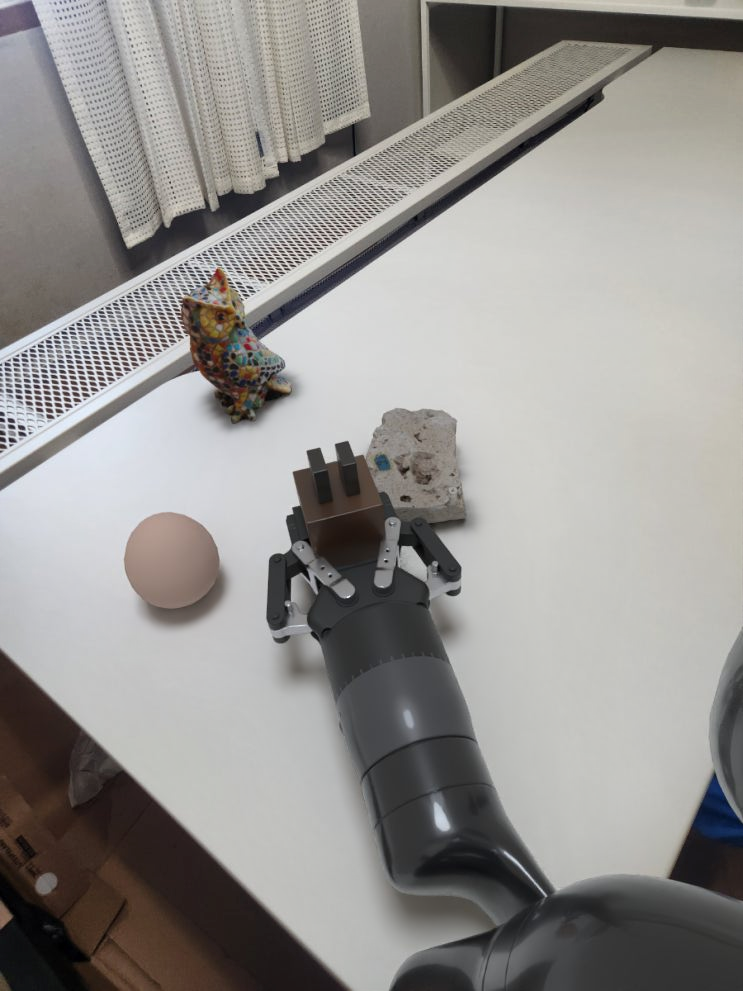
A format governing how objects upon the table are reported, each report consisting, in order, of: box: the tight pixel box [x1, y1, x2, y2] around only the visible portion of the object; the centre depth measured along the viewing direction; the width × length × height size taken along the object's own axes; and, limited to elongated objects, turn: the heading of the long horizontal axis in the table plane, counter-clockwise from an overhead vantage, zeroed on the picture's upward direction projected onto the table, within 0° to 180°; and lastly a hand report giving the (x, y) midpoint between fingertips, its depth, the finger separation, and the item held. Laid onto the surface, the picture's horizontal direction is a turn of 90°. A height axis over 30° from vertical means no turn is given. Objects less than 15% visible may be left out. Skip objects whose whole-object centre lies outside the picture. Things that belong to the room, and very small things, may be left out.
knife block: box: [292, 440, 386, 567], centre depth 50 cm, size 5×5×14 cm
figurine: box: [180, 267, 292, 424], centre depth 68 cm, size 9×9×15 cm
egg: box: [123, 511, 221, 609], centre depth 53 cm, size 7×7×8 cm
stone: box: [365, 407, 467, 524], centre depth 61 cm, size 13×6×10 cm
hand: (335, 504), depth 52 cm, fingers closed on knife block, 5 cm apart
